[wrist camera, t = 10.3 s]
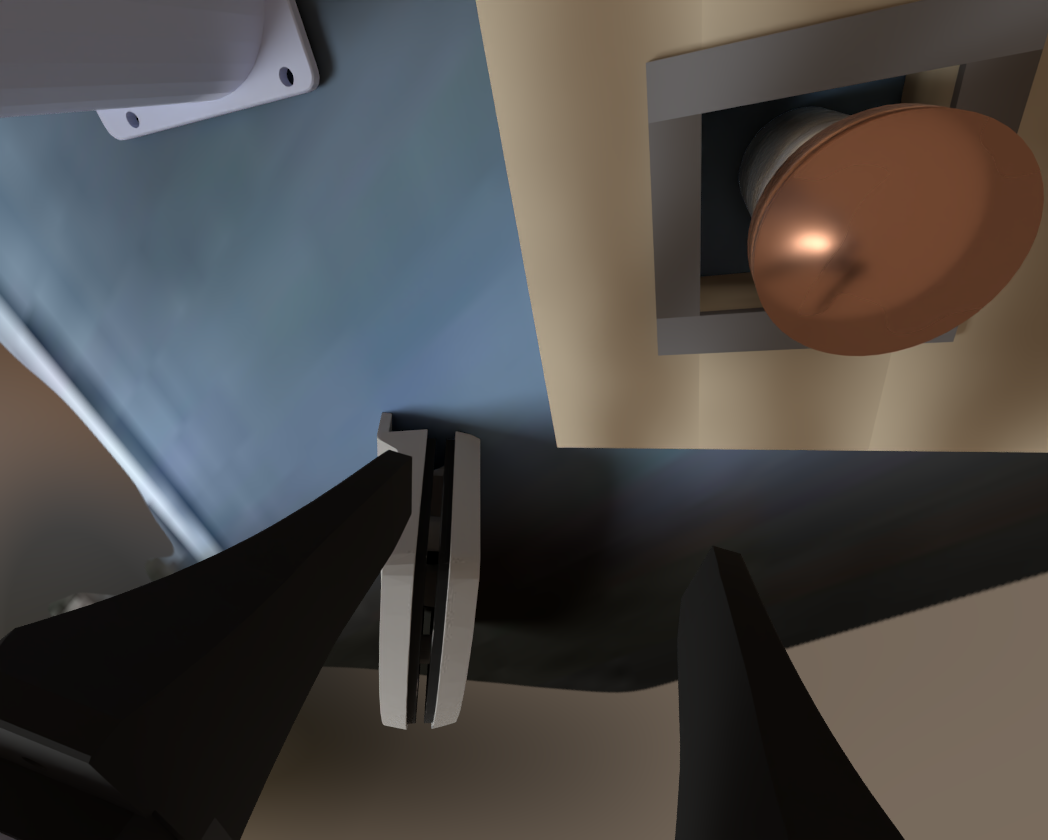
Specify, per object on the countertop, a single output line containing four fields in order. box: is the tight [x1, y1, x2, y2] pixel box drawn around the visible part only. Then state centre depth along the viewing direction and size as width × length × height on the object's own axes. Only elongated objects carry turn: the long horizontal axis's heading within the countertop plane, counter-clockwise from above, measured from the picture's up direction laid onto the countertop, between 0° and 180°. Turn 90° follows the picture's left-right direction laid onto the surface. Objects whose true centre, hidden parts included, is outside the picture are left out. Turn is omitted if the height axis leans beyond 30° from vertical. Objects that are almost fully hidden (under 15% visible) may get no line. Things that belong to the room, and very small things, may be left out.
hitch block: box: [476, 0, 1048, 452], centre depth 13 cm, size 15×15×3 cm
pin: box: [739, 103, 1044, 356], centre depth 11 cm, size 4×4×8 cm
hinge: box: [377, 412, 480, 729], centre depth 25 cm, size 17×5×10 cm, turn 170°
